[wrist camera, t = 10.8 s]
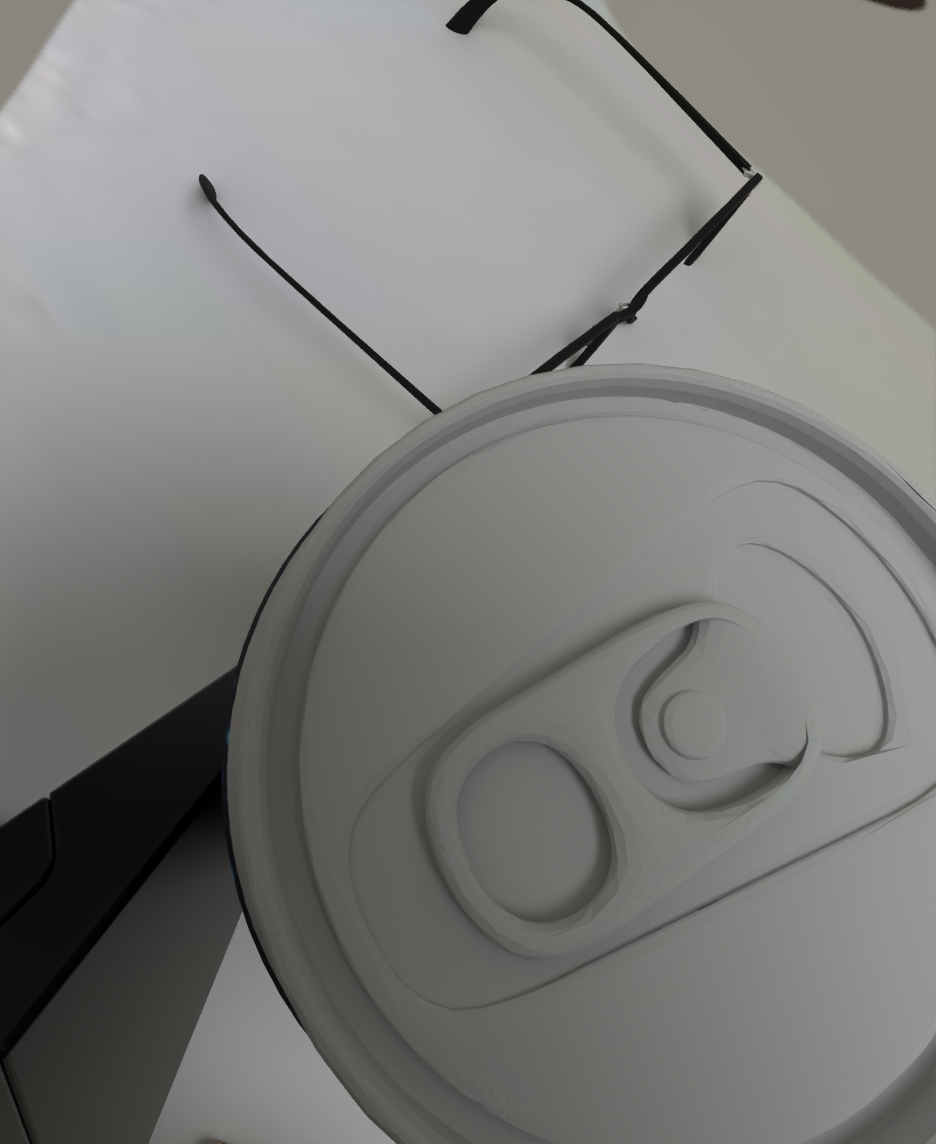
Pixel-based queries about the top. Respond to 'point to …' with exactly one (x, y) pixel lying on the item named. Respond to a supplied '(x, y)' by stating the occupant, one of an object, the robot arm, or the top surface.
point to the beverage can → (604, 773)
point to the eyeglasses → (600, 331)
